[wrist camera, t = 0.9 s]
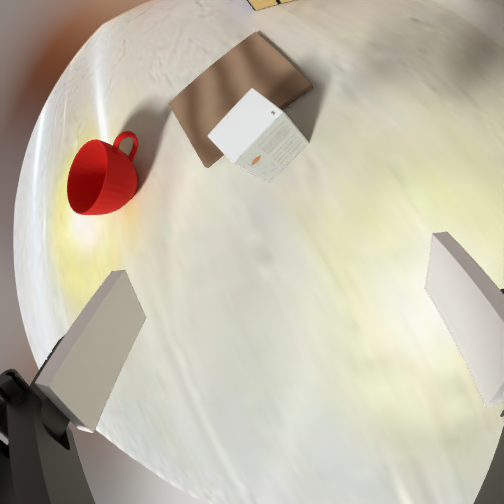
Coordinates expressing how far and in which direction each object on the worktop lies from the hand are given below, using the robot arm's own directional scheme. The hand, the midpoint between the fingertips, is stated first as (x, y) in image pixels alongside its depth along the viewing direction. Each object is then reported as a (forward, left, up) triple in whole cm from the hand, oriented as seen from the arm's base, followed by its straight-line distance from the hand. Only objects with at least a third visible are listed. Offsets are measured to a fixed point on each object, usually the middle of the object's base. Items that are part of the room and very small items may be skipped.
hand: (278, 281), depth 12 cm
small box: (0, -18, -27) cm, 32 cm away
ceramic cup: (+24, -33, -27) cm, 49 cm away
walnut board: (0, -31, -26) cm, 41 cm away
